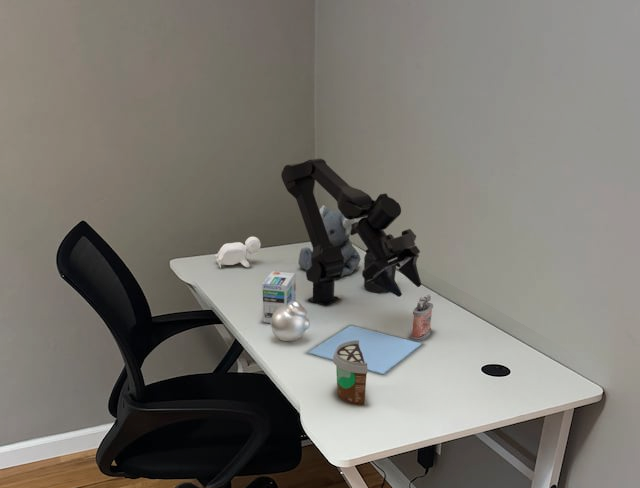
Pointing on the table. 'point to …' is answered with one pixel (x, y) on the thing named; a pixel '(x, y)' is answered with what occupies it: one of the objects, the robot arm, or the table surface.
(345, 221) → the koala plush
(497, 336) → the table surface
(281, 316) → the silver rounded lump
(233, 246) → the white turtle figurine
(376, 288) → the pen holder
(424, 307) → the lighter
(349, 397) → the food container
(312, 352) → the blue square mat
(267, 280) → the light bulb box
